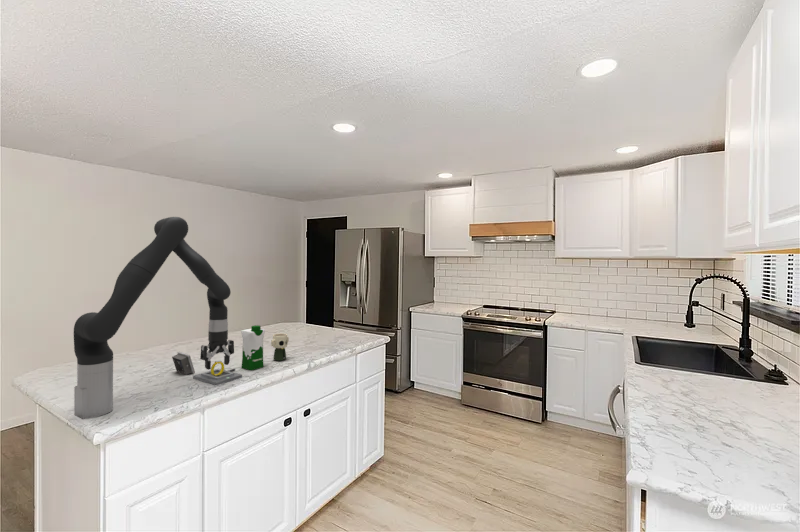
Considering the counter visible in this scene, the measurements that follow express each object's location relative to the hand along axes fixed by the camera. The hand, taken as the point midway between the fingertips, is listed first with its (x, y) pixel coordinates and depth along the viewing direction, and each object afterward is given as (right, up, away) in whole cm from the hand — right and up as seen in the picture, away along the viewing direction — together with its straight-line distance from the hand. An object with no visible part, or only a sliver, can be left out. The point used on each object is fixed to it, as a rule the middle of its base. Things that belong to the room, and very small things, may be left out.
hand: (217, 366), depth 159 cm
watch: (0, -4, 0) cm, 4 cm away
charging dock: (+1, -5, +2) cm, 6 cm away
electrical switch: (-18, -5, +6) cm, 19 cm away
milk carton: (+9, -5, +16) cm, 19 cm away
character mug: (+17, -5, +30) cm, 35 cm away
